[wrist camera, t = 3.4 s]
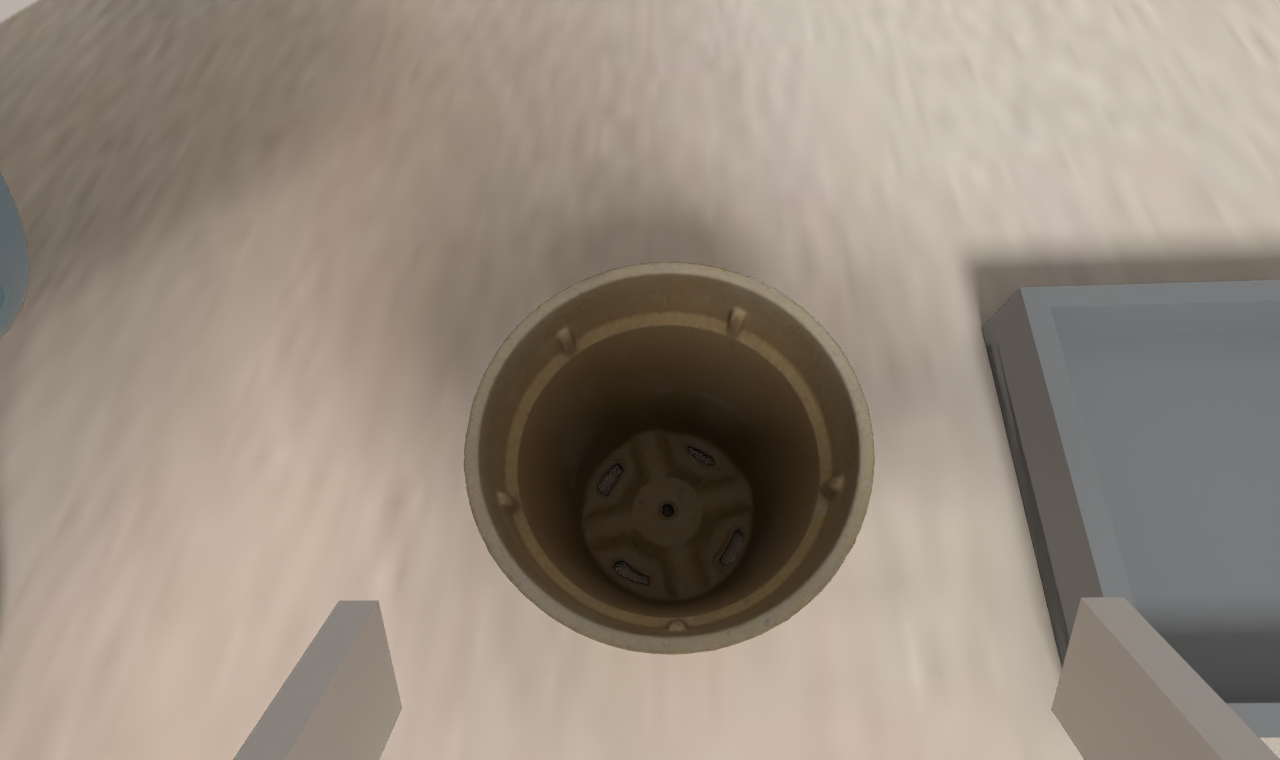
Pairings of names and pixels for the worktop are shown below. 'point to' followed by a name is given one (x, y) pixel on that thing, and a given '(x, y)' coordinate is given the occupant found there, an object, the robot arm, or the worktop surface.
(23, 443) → the worktop surface
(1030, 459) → the tray
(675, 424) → the flower pot
